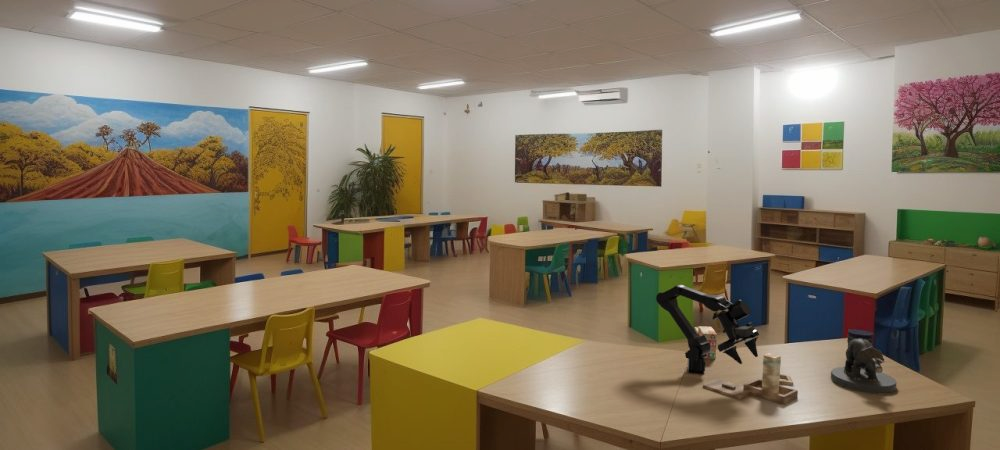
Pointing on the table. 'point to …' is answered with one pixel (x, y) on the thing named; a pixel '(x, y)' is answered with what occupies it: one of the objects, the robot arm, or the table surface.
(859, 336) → the storage jar
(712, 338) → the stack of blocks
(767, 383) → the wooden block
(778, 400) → the tan wooden shallow tray
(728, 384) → the lid
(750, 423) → the table surface
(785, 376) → the square wooden frame
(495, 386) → the table surface
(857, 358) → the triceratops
